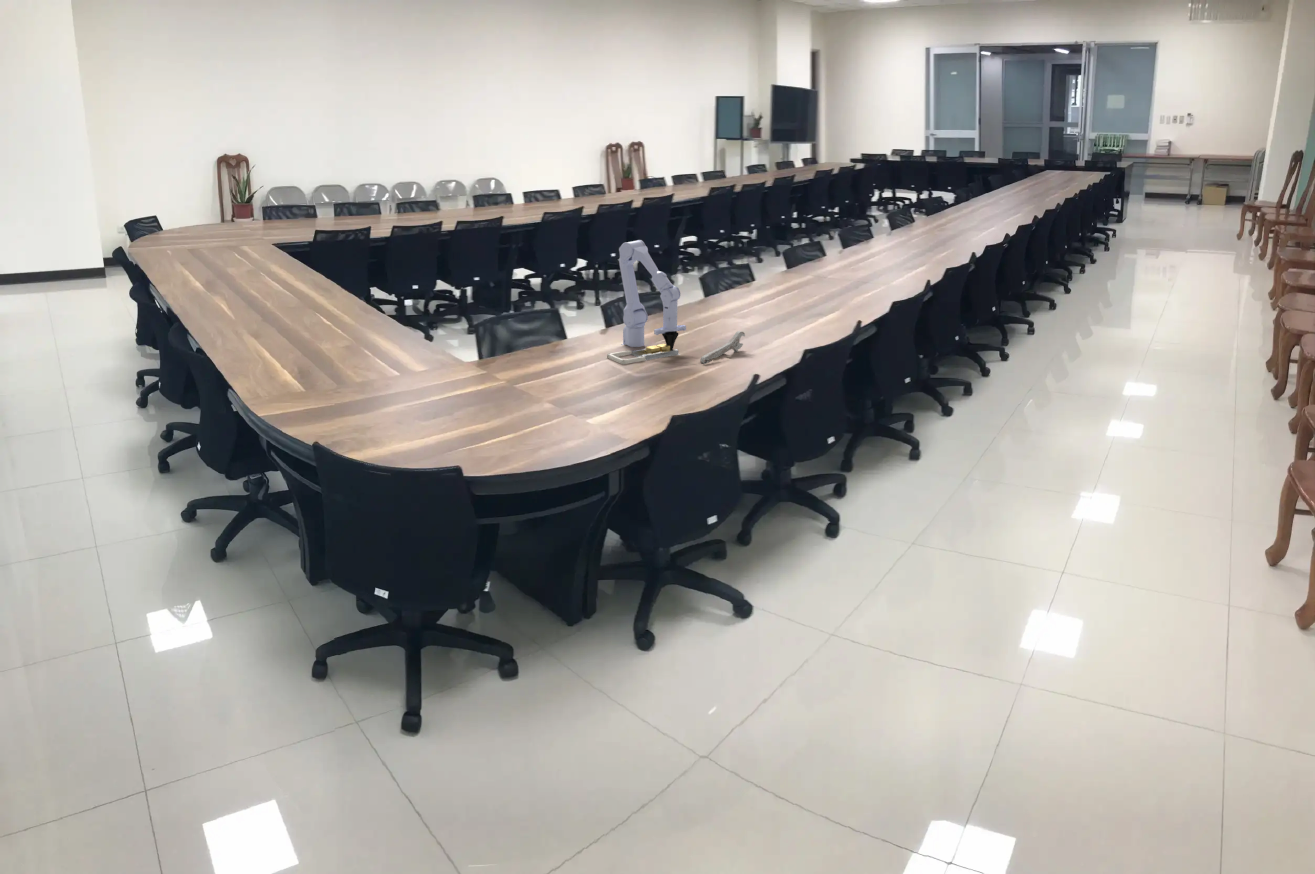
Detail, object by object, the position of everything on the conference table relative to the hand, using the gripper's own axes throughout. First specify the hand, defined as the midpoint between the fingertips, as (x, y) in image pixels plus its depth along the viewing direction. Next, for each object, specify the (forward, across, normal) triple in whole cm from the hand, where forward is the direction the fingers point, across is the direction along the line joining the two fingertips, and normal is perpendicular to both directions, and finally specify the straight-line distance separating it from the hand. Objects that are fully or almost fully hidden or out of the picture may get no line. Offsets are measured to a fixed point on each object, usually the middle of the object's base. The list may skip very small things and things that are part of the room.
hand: (670, 349), depth 373 cm
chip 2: (+1, -3, 0) cm, 3 cm away
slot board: (+2, -7, 0) cm, 8 cm away
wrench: (+2, +16, -15) cm, 22 cm away
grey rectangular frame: (+2, -21, 0) cm, 21 cm away
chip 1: (+1, -8, 0) cm, 8 cm away
